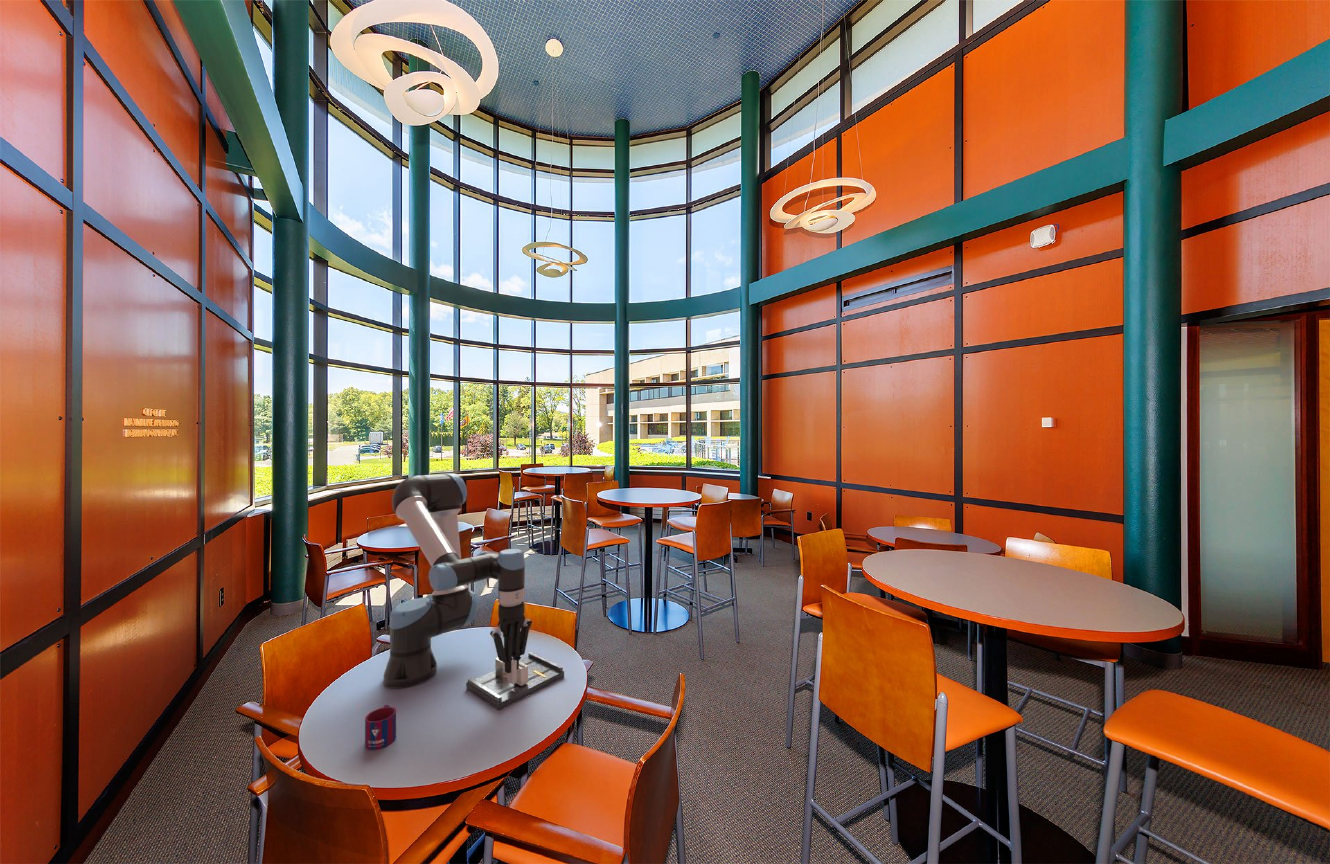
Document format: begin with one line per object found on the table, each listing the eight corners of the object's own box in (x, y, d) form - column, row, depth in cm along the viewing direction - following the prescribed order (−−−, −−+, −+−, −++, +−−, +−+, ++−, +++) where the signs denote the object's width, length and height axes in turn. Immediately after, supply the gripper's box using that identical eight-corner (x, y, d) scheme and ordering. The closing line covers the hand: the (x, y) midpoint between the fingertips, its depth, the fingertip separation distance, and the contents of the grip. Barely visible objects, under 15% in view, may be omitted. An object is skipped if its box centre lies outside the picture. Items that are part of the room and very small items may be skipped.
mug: (360, 751, 113) (360, 723, 114) (377, 726, 123) (377, 701, 123) (390, 747, 115) (390, 720, 115) (404, 723, 125) (404, 698, 125)
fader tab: (513, 681, 141) (513, 663, 141) (520, 678, 143) (520, 660, 143) (521, 685, 139) (520, 667, 139) (528, 682, 140) (528, 664, 141)
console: (466, 689, 141) (466, 664, 141) (530, 660, 159) (530, 639, 159) (499, 710, 130) (498, 683, 130) (564, 677, 148) (564, 653, 148)
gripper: (498, 611, 131) (498, 695, 131) (537, 599, 141) (538, 676, 141) (484, 605, 136) (485, 686, 136) (523, 594, 146) (523, 669, 146)
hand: (512, 681), depth 138 cm, fingers closed
